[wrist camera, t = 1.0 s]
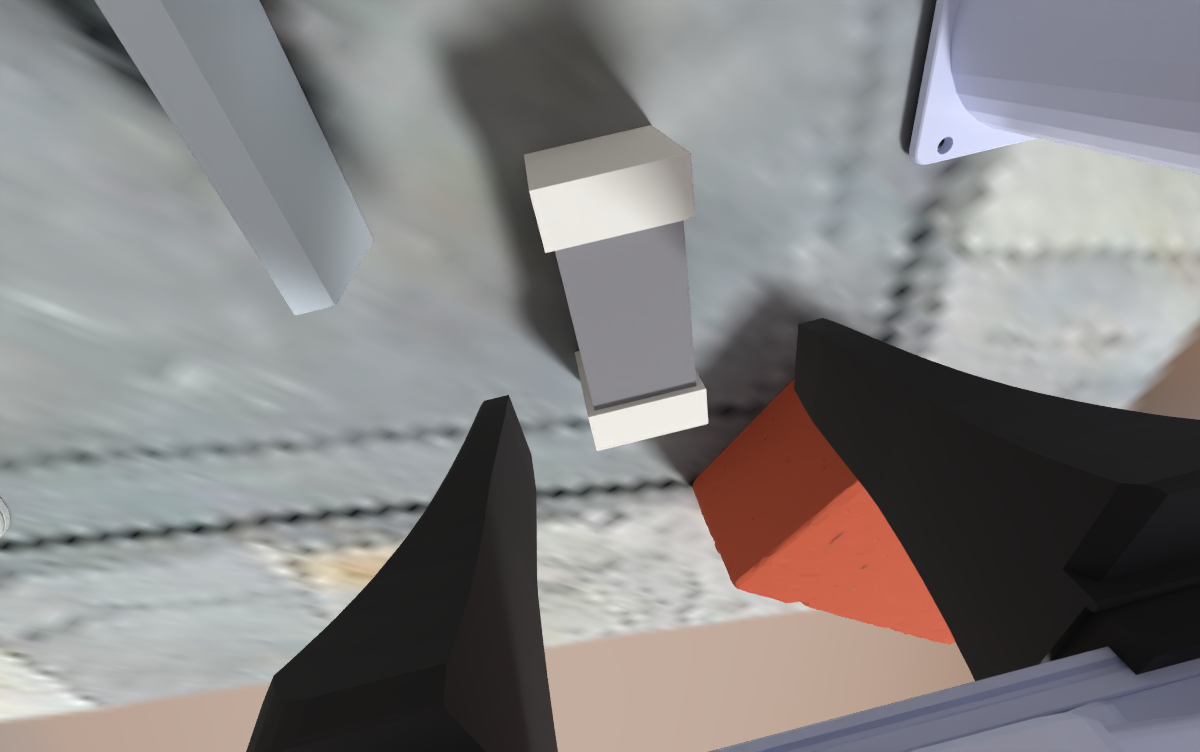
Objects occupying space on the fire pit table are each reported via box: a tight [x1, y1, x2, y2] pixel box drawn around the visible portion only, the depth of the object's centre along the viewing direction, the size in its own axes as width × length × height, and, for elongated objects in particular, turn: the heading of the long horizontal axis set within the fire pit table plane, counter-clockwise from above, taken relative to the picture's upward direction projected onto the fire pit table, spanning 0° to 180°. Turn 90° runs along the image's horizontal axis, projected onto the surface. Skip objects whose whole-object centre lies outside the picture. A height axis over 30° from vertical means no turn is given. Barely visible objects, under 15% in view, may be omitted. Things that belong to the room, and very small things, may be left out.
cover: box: [95, 0, 374, 315], centre depth 11 cm, size 10×2×5 cm, turn 11°
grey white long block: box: [524, 125, 708, 451], centre depth 16 cm, size 4×9×4 cm, turn 11°
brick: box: [692, 378, 955, 644], centre depth 25 cm, size 18×9×6 cm, turn 57°
